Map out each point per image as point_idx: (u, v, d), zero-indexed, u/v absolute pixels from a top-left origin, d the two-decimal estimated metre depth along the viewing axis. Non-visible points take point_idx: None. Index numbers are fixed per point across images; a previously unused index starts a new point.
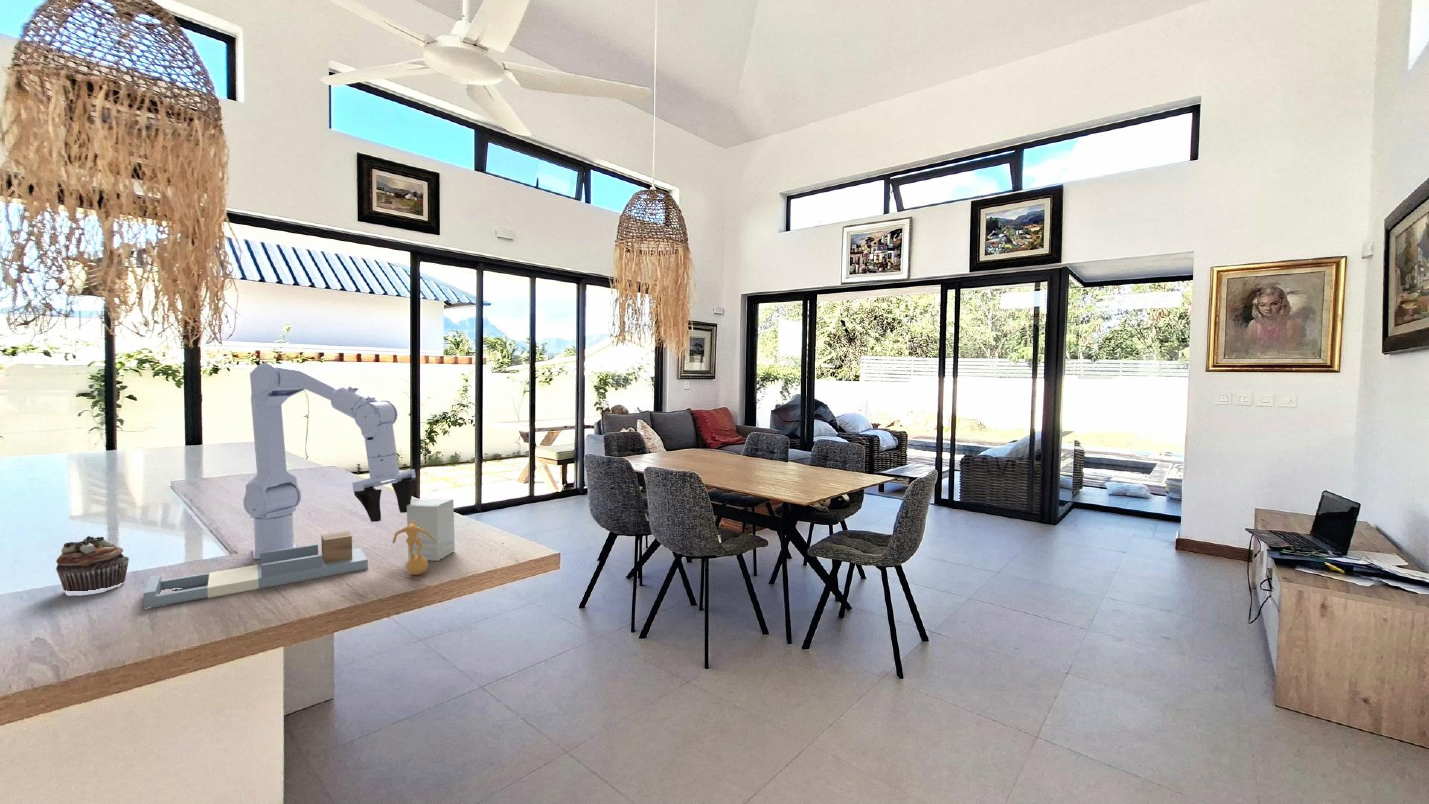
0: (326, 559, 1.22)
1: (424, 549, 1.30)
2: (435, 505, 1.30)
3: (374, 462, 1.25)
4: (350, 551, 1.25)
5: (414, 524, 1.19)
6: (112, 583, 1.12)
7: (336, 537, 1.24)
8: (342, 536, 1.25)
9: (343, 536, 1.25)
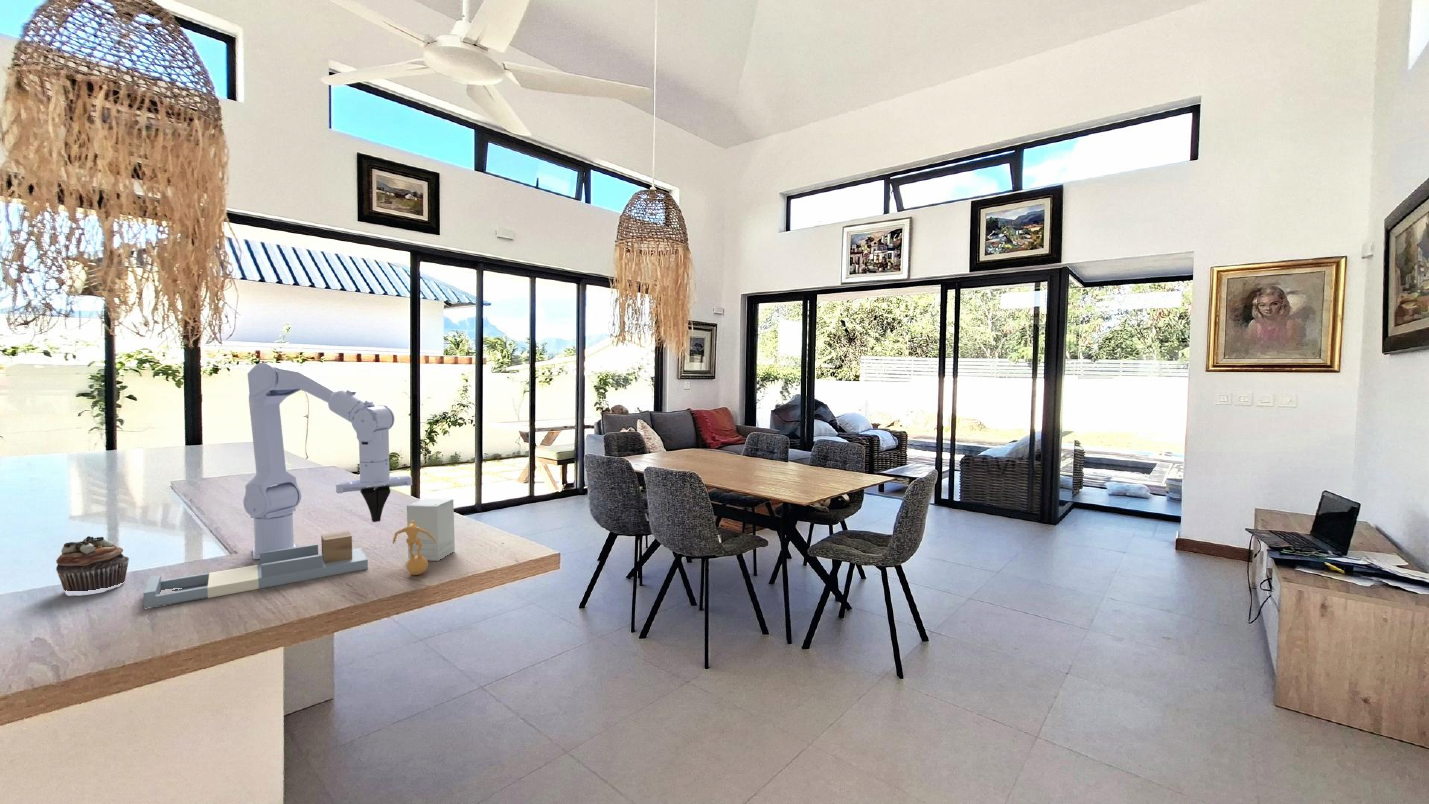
0: (326, 559, 1.22)
1: (424, 549, 1.30)
2: (435, 505, 1.30)
3: (360, 466, 1.27)
4: (350, 551, 1.25)
5: (414, 524, 1.19)
6: (112, 583, 1.12)
7: (336, 537, 1.24)
8: (342, 536, 1.25)
9: (343, 536, 1.25)
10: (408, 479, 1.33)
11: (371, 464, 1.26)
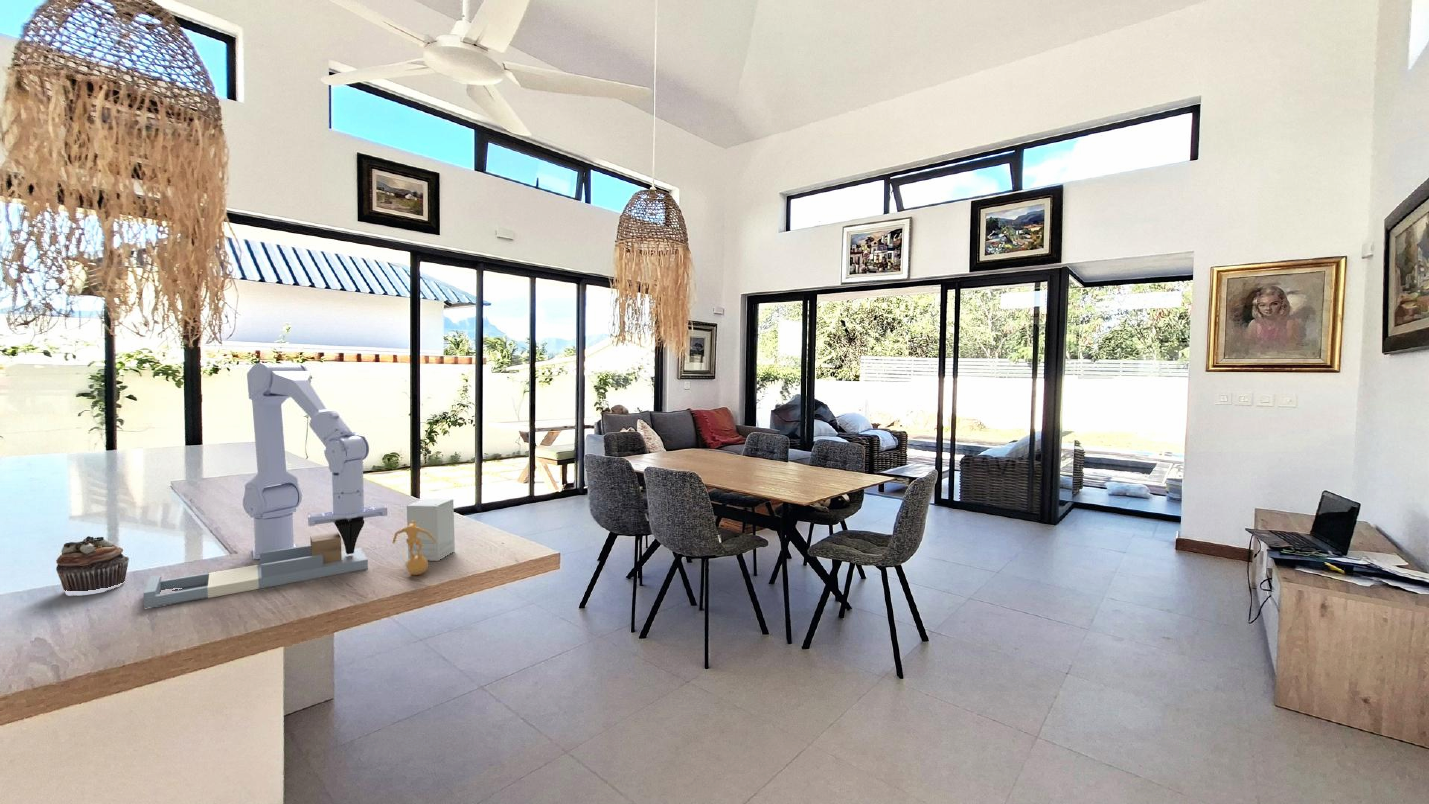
0: None
1: (424, 549, 1.30)
2: (435, 505, 1.30)
3: (333, 498, 1.24)
4: (339, 553, 1.24)
5: (414, 524, 1.19)
6: (112, 583, 1.12)
7: (325, 539, 1.23)
8: (331, 538, 1.23)
9: (332, 538, 1.23)
10: (383, 509, 1.30)
11: (344, 495, 1.24)
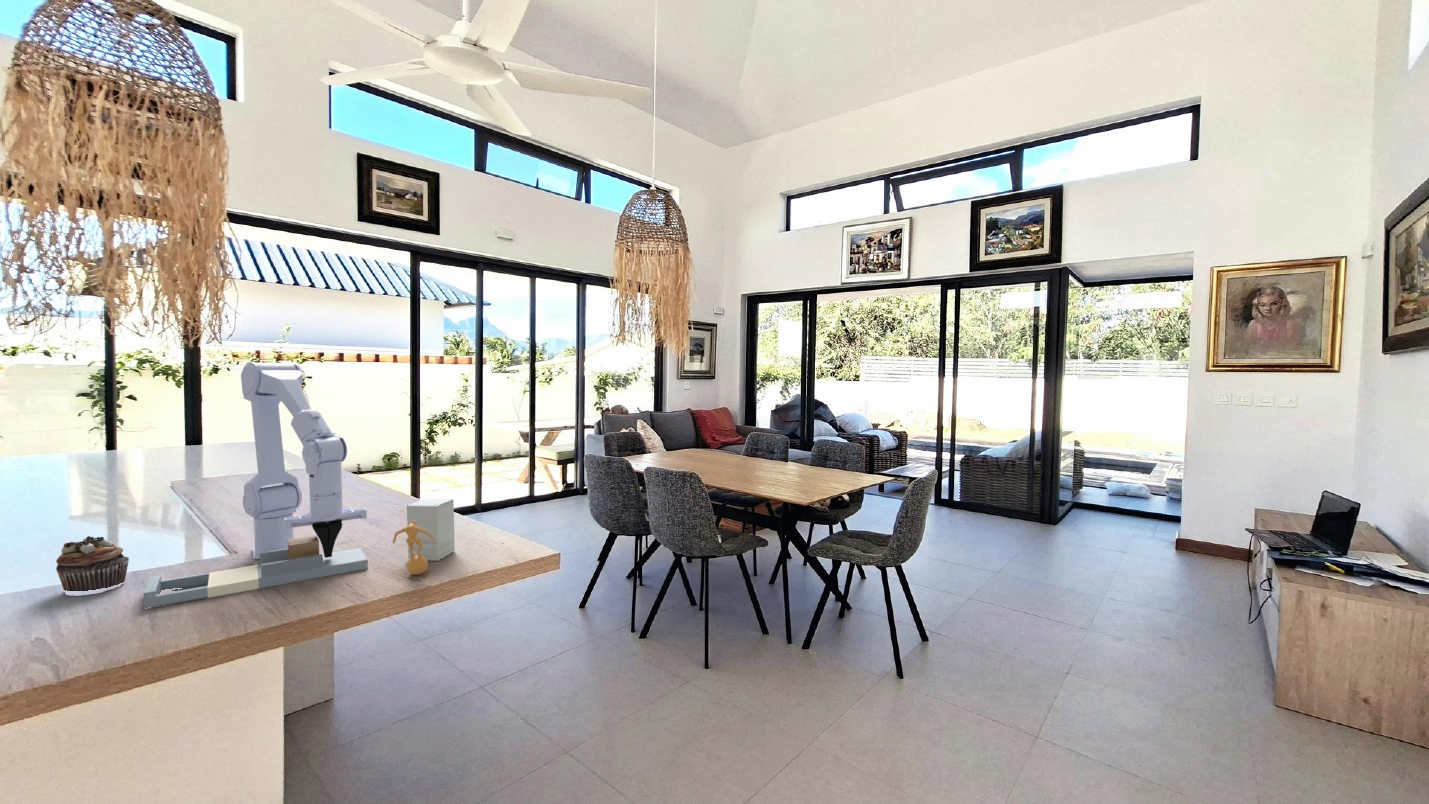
0: None
1: (424, 549, 1.30)
2: (435, 505, 1.30)
3: (310, 500, 1.21)
4: None
5: (414, 524, 1.19)
6: (112, 583, 1.12)
7: (302, 542, 1.20)
8: (309, 541, 1.21)
9: (310, 541, 1.21)
10: (362, 512, 1.27)
11: (321, 498, 1.21)
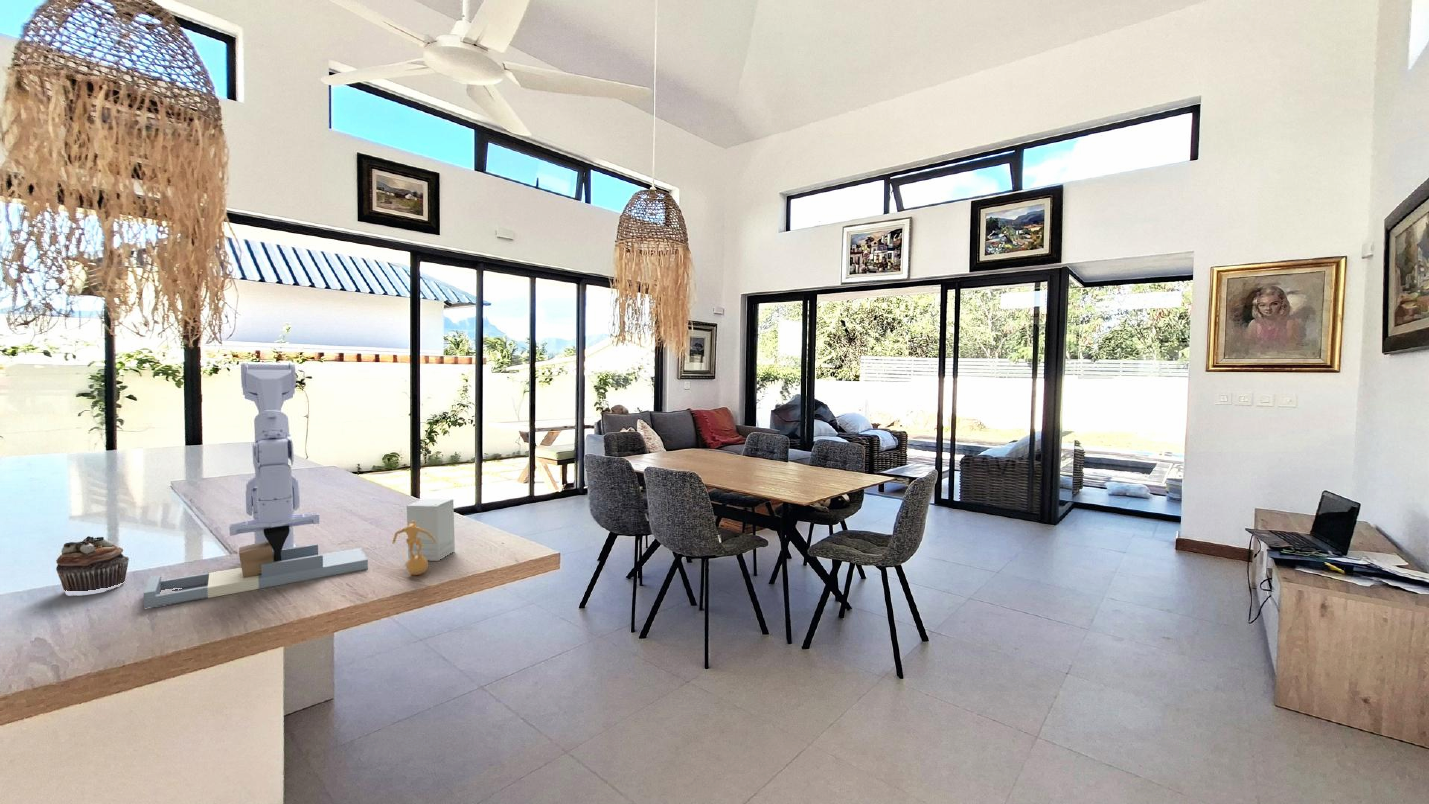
0: (245, 573, 1.14)
1: (424, 549, 1.30)
2: (435, 505, 1.30)
3: (258, 505, 1.16)
4: None
5: (414, 524, 1.19)
6: (112, 583, 1.12)
7: (253, 549, 1.15)
8: (260, 547, 1.15)
9: (261, 547, 1.16)
10: (315, 517, 1.22)
11: (269, 502, 1.15)
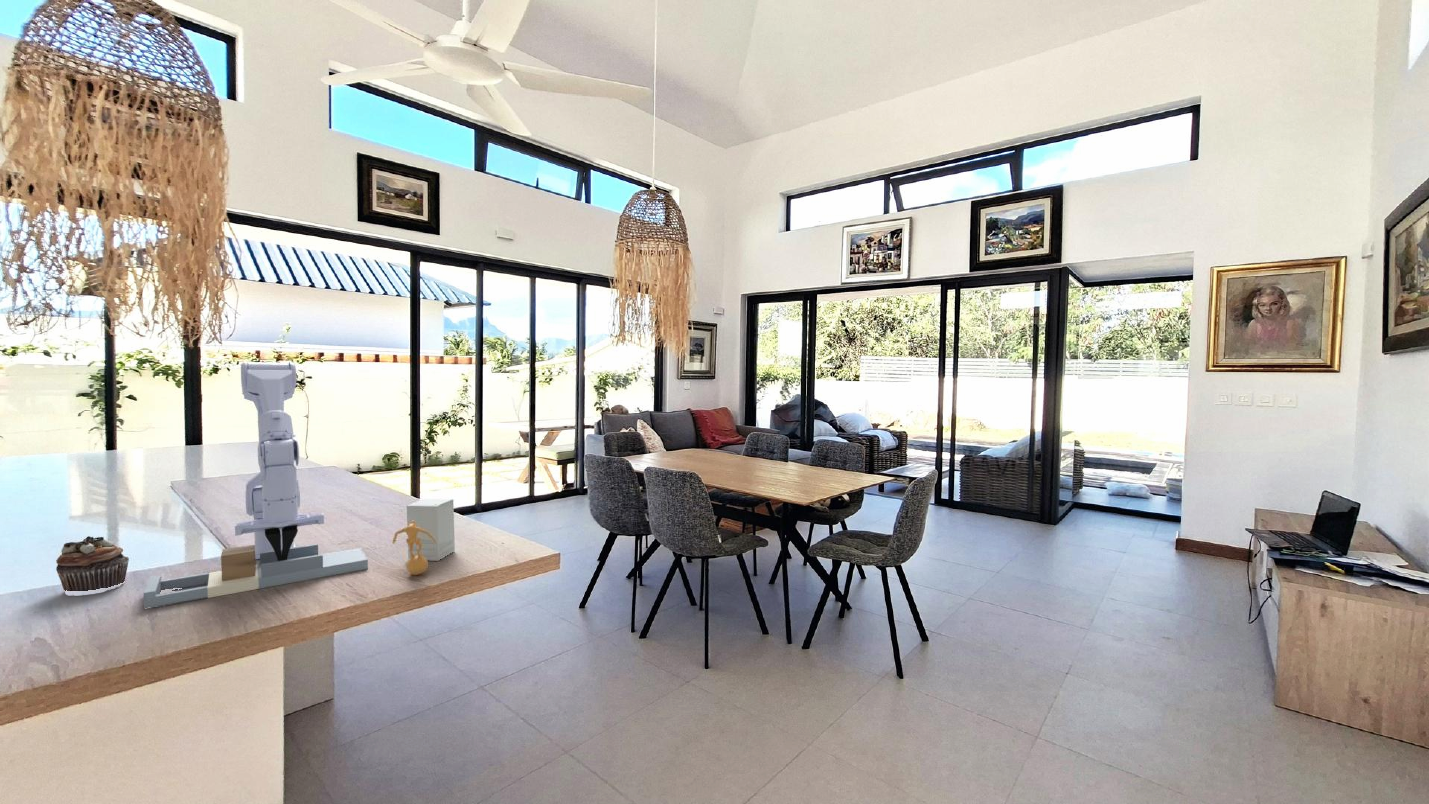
0: (224, 576, 1.12)
1: (424, 549, 1.30)
2: (435, 505, 1.30)
3: (263, 505, 1.16)
4: (252, 568, 1.14)
5: (414, 524, 1.19)
6: (112, 583, 1.12)
7: (236, 552, 1.13)
8: (243, 551, 1.14)
9: (245, 551, 1.14)
10: (319, 517, 1.22)
11: (274, 503, 1.16)
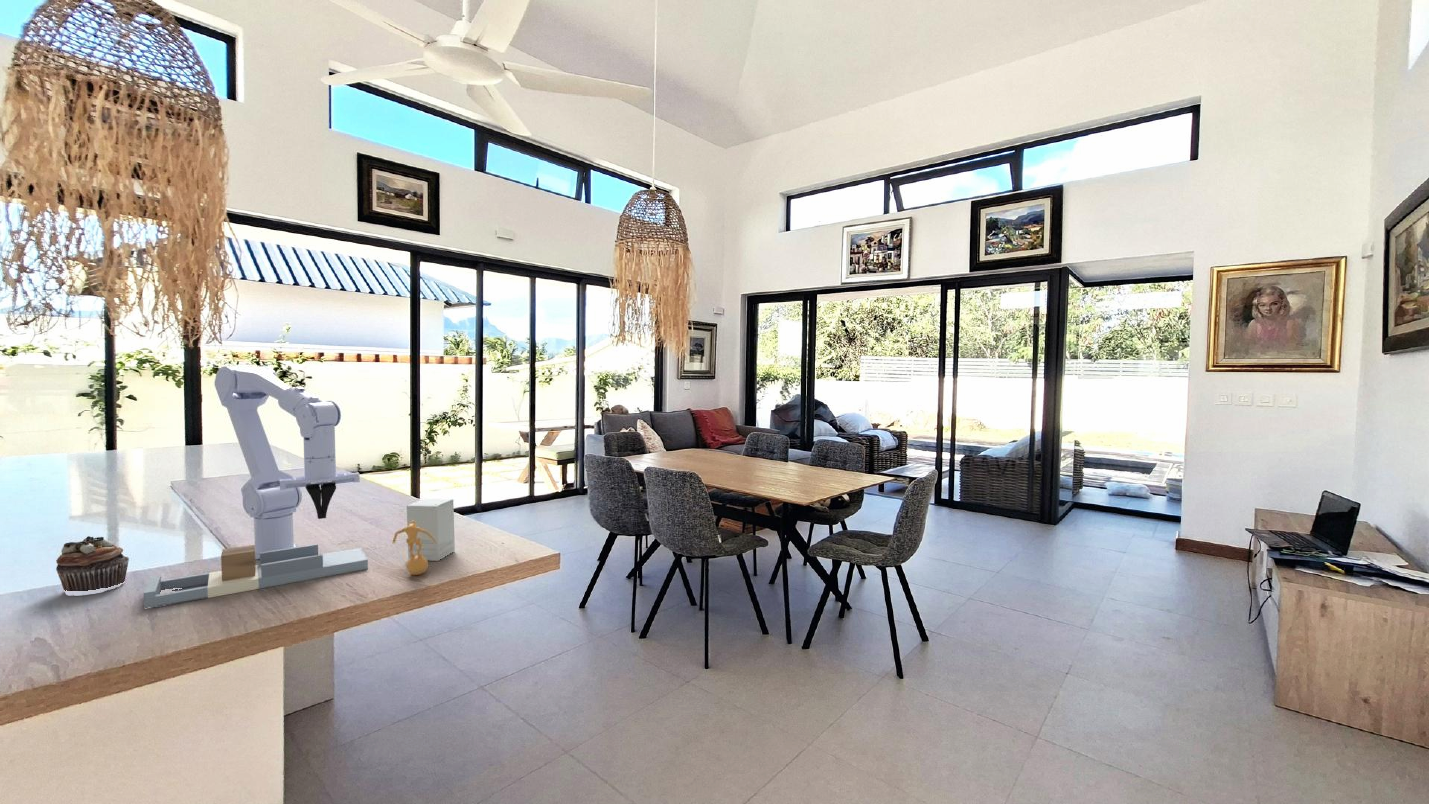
0: (224, 576, 1.12)
1: (424, 549, 1.30)
2: (435, 505, 1.30)
3: (305, 462, 1.25)
4: (252, 568, 1.14)
5: (414, 524, 1.19)
6: (112, 583, 1.12)
7: (236, 552, 1.13)
8: (243, 551, 1.14)
9: (245, 551, 1.14)
10: (355, 475, 1.31)
11: (315, 460, 1.25)
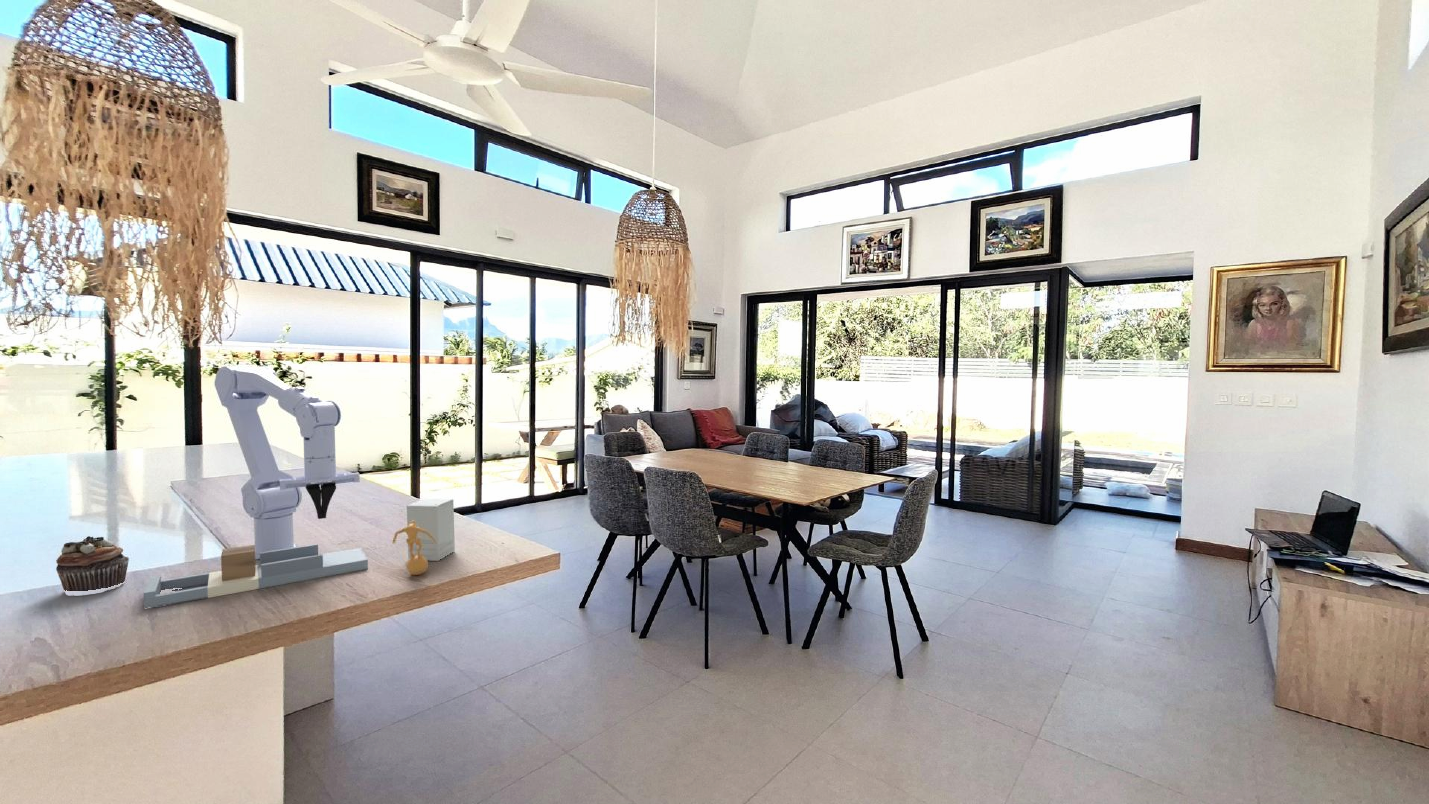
0: (224, 576, 1.12)
1: (424, 549, 1.30)
2: (435, 505, 1.30)
3: (305, 462, 1.25)
4: (252, 568, 1.14)
5: (414, 524, 1.19)
6: (112, 583, 1.12)
7: (236, 552, 1.13)
8: (243, 551, 1.14)
9: (245, 551, 1.14)
10: (355, 475, 1.31)
11: (315, 460, 1.25)
